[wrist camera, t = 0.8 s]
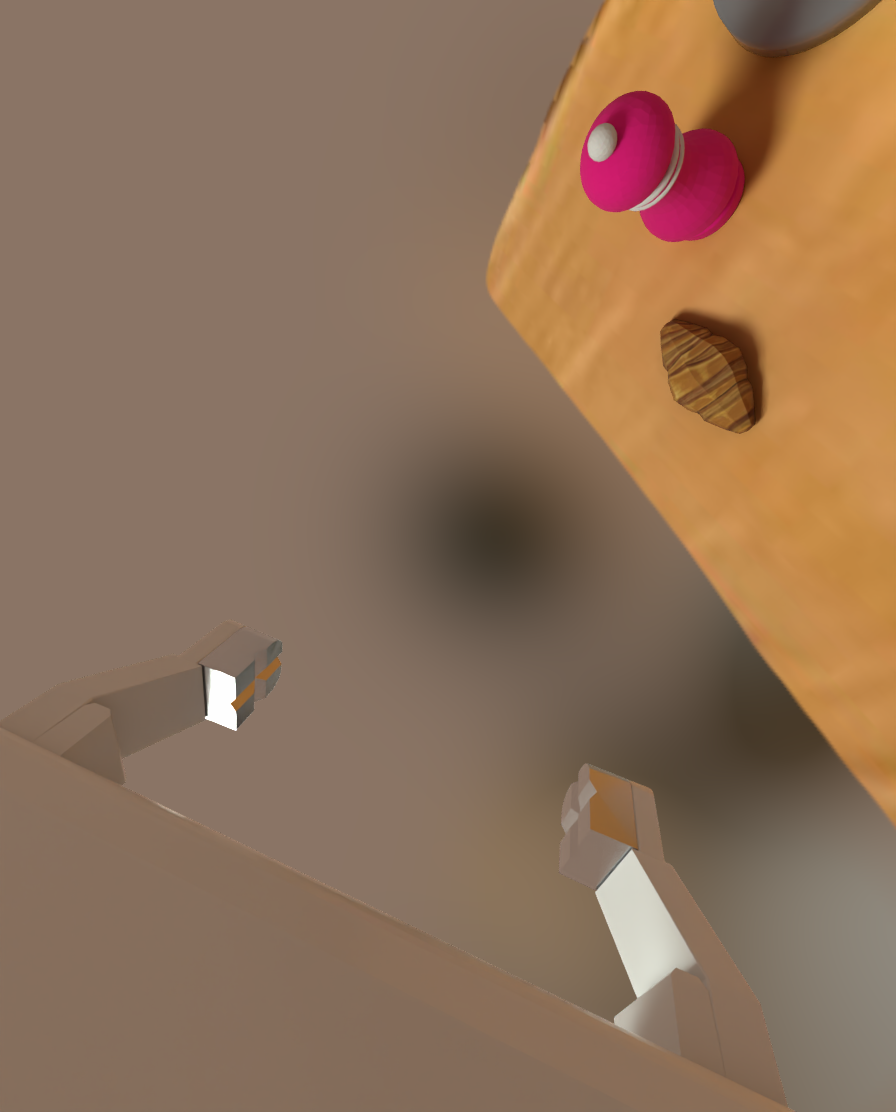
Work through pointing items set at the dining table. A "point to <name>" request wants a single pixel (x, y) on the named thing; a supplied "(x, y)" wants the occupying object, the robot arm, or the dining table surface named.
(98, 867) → the robot arm
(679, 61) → the dining table surface
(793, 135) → the dining table surface
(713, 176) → the pepper mill
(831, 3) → the smooth gray stone
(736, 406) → the croissant
